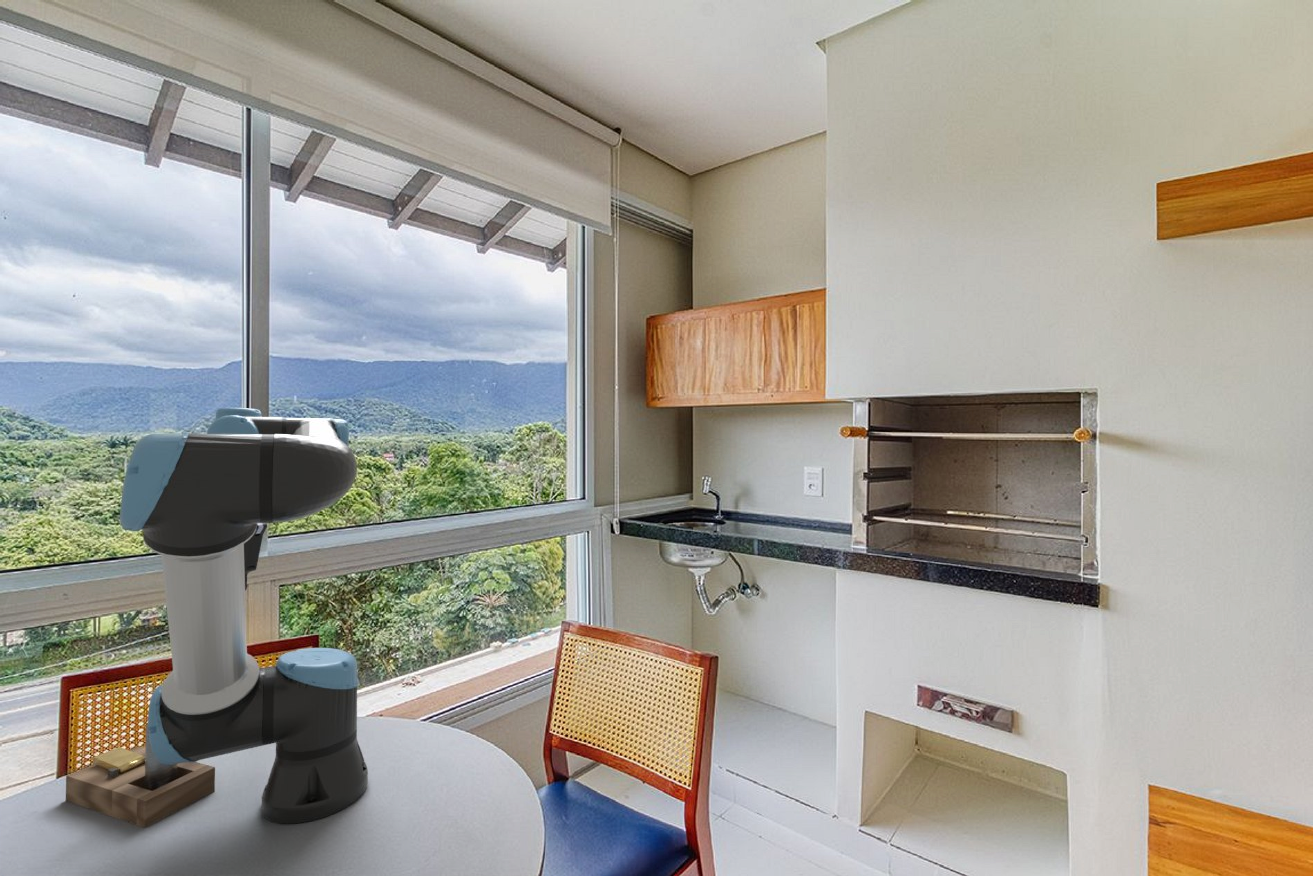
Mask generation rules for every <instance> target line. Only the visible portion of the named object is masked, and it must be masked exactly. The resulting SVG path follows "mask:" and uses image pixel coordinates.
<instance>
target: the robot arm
mask: <svg viewBox="0 0 1313 876" xmlns="http://www.w3.org/2000/svg"><path fill="white" fill-rule="evenodd" d="M262 415H263V414H262V412H261V410H260V409H256V408H246V407H221V408H218V409H216V412H215V420H214V421H212V423H210V424H209V426H208V428H207V431H206V433H198V432H197V433H194V432H193V433H192V432H189V431H181V432H175V433H173V432H172V433H170V432H168V433H166V432H165V433H150V434H147V435H145V436H142V437H141V438H140V439H139V440H138V441H137V442H136V443H135V445H134V447H133V448H132V452H131V455H130V457H129V460H128V464H127V466H126V467H127V469H126V471H125V477H124V481H123V486H122V493H121V499H120V509H119V521H120V525H121V527H122V528H123V529H124V530H126V531H132V532H140V531H142V538H143V542H144V544H145V545H146V547H147V549H149V550H150V551H152V552H154V553H155V554H158V555H161V563H162V573H163V583H164V593H165V594H164V595H165V601H166V602H165V603H166V612H167V624H168V632H169V643H170V651H171V653H170V654H171V662H172V663H171V665H172V671H171V672H170V673H169V674H168V675H167V677H166V678H165V679H164V681H163V683H162V684H160V685H158V686H157V687H156V688H155V689H154V691H153V692H152V695H151V698H150V702H149V705H148V711H147V712H148V713H147V723H148V727H149V741H150V746H151V749H152V752H153V754H154V756H155V758H156V759H157V760H158V761H159V762H160V763H162V764H165V765H173V764H179V763H185V762H188V763H192V762H199V761H200V760H201V761H202V760H204V759H210V758H214V757H218V756H223V755H227V754H232V753H236V752H240V751H244V750H249V749H254V748H258V747H262V746H268V745H272V744H275V757H274V761H273V765H272V767H271V769H270V774H269V777H268V780H267V783H266V785H265V787H264V789H263V792H262V795H261V813H262V816H263V817H264V818H266V820H268V821H271V822H273V823H279V824H297V823H299V824H300V823H307V822H311V821H315V820H318V819H321V818H324V817H329V816H330V815H333V814H335V813H337V812H339V811H341V810H344V809H345V808H347V807H348V806H350V805H351V804H353V803H354V802H356V801H357V800H358V799H359V798H361V796H362V795H363V794H364V792H365V791H366V789H367V788H368V783H369V779H368V778H369V773H368V772H369V771H368V766H367V764H366V761H365V758H364V755H363V752H362V749H361V747H360V744H359V741H358V733H357V732H358V686H359V683H360V679H359V678H358V664H357V663H358V662H357V660H356V657H355V656H354V655H353V654H351V653H350V652H348V651H345V650H342V649H339V648H331V647H309V648H308V647H307V648H301V649H295V650H293V651H288V652H285V653H283V654H281V655H279V656H278V658H277V660H276V662H275V665H272V666H266V667H265V666H264V667H260V666H259V664H258V661H257V660H256V658H255V657H254V656H253V655H251V654H250V653H248V648H247V647H248V645H247V617H246V616H247V611H246V609H247V608H246V607H247V606H246V604H247V603H246V600H247V599H246V596H247V594H246V591H247V588H248V574H249V573H251V572H253V571H254V572H255V571H256V570H257V567H258V561H259V557H260V553H261V552H260V551H261V547H262V541H263V538H264V537H263V536H264V534H265V532H266V530H267V528H268V524H273V523H274V524H275V523H284V522H285V523H286V522H291V521H296V520H300V519H303V518H306V517H309V516H312V515H315V514H317V513H320V512H321V511H324V510H325V509H327V508H328V507H331V506H332V505H334V504H336V503H337V502H338V501H340V500H341V499H342V498H343V497H344V496H345V495H346V494H347V493H348V492H349V491H350V489H351V488H353V487H352V486H354V483H355V481H356V478H357V474H358V473H357V472H358V465H357V464H358V463H357V461H356V457H355V454H354V453H353V451H352V450H351V448H350V447H349V443H350V442H349V438H350V437H349V436H350V434H349V433H350V431H349V424H348V421H346V420H345V419H343V418H342V419H341V418H340V419H339V418H331V417H325V418H317V417H316V418H314V417H313V418H311V417H310V418H307V417H305V418H303V417H301V418H300V417H280V416H279V417H278V416H277V417H274V416H262Z"/></svg>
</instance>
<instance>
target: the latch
mask: <svg viewBox="0 0 1313 876" xmlns="http://www.w3.org/2000/svg"><path fill="white" fill-rule="evenodd" d="M129 750H130V749H129ZM129 750H128V749H126V748H124V747H120V746H118V747H116V748H113V749H111V750H108V751H105V752H104V753H100V754H99V755H95V756H94V757H93V759H92V763H93V765H94V764H96V765H99V766H101V767H104V768H106V769H111V768H118V769H119V770H118V773H119V774H120V773H122V772H125V771H127V770H129V769H131V768H134V767H136V766H138V765H141V764H143V763H145V756H142V755H140V754H137V753H134V752H132V751H129Z"/></svg>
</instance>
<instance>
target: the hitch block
mask: <svg viewBox="0 0 1313 876" xmlns="http://www.w3.org/2000/svg"><path fill="white" fill-rule="evenodd" d="M145 749H146V747H143V746H140V745H138V746H136V747H134V748H133V747H132V748H130V749H129V751H132V752H134V753H137V754H140V755H142V756H145ZM118 770H119V769H118V768H111V769H106V768H104V767H101V766H99V765H96V764H94V763H93V764H92V765H88V766H87V767H83V768H82V769H79V770H77V771H75V772H72V773H70V774H67V775H65V776H66V778H65V802H69V803H72V804H73V805H74V804H75V805H77V806H80V807H83V808H86V809H89V810H92V811H95V812H98V813H101V814H104V815H106V816H110V817H111V818H115V819H118V820H120V821H123V822H126V823H129V824H132V825H134V826H138V827H141V828H148V827H149V826H152V825H153V824H156V823H157V822H159V821H161V820H163V819H165V818H167V817H169V816H170V815H172V814H174V813H176V812H178V811H180V810H182V809H183V808H185V807H188V806H190V805H192V804H194V803H195V802H197V801H199V800H201V799H203V798H205V797H206V796H209V795H210V794H213V793H214V792H215V791H216V783H215V782H216V767H215V766H212V765H208V764H206V763H201V762H199V761H197V762H192V763H188V762H185V763H179V764H177V780H174V781H172V782H170V783H168V784H166V785H164V786H162V787H160V788H158V789H156V790H154V791H150V790H147V789H145V763H143V764H141V765H138V766H136V767H134V768H131V769H129V770H127V771H125V772H122V773H120V774H119V773H118Z"/></svg>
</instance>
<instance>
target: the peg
mask: <svg viewBox="0 0 1313 876" xmlns="http://www.w3.org/2000/svg"><path fill="white" fill-rule="evenodd" d="M145 748H146V749H145V789H147V790H150V791H154V790H156V789H158V788H160V787H162V786H164V785H166V784H168V783H170V782H172V781H174V780H177V764H173V765H165V764H162V763H160V762H159V761H158V760H157V759H156V758H155V756H154V754H153V752H152V749H151V746H150V741H149V727H148V722H147V723H146V724H145Z"/></svg>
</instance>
